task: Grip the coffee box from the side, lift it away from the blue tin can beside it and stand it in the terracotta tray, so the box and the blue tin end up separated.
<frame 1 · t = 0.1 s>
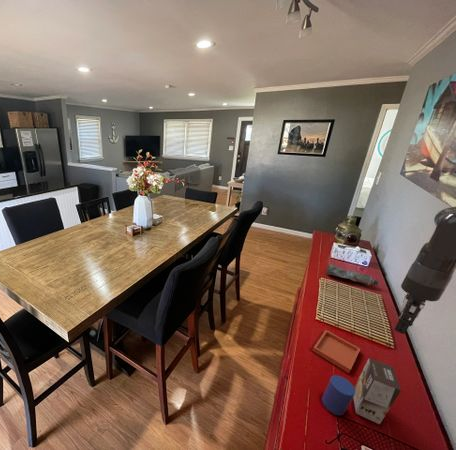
hand: (401, 324, 71), 32 cm above the sideboard, tool pointing down, fingers open, 8 cm apart
coffee box: (364, 406, 79), on the sideboard
blue tin: (333, 404, 79), on the sideboard
dark stone rod: (348, 280, 147), on the sideboard
tray: (335, 351, 99), on the sideboard
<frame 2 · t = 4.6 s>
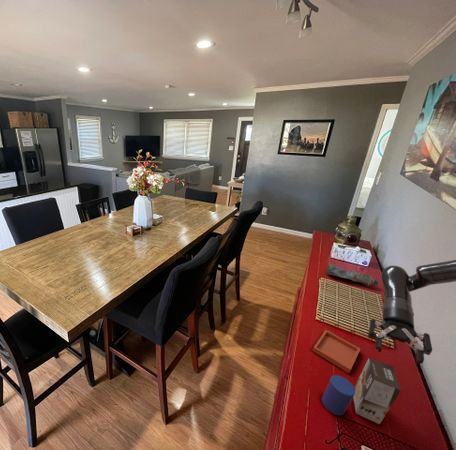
hand: (398, 356, 74), 20 cm above the sideboard, tool tilted 70°, fingers open, 8 cm apart
nothing on the sideboard moved.
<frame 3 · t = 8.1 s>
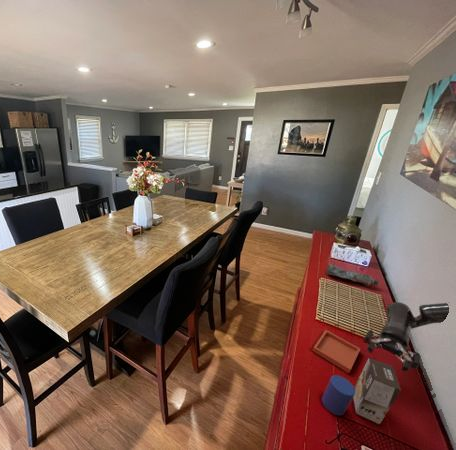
hand: (386, 359, 81), 13 cm above the sideboard, tool horizontal, fingers open, 8 cm apart
nothing on the sideboard moved.
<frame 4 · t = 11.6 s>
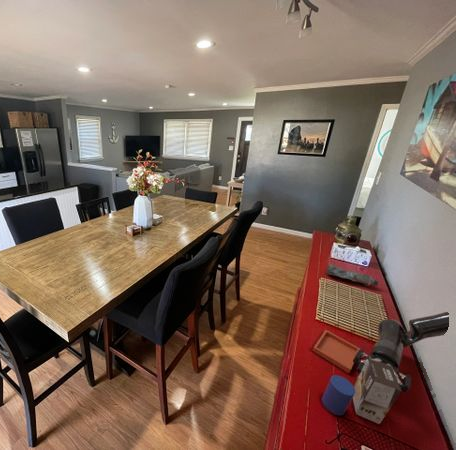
hand: (376, 382, 78), 9 cm above the sideboard, tool horizontal, fingers open, 8 cm apart
coffee box: (364, 406, 79), on the sideboard, touching gripper
everything else where it was.
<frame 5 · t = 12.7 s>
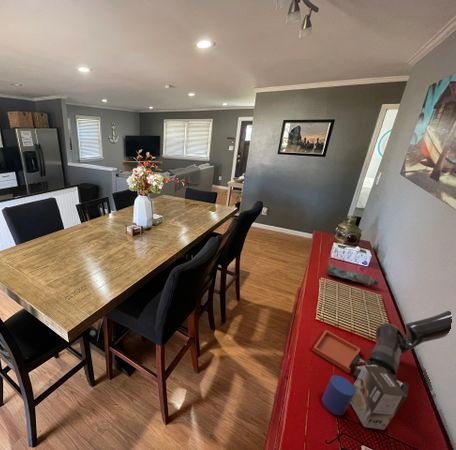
hand: (372, 389, 75), 9 cm above the sideboard, tool horizontal, fingers closed on coffee box, 8 cm apart
coffee box: (364, 412, 78), on the sideboard, touching gripper
everything else where it was.
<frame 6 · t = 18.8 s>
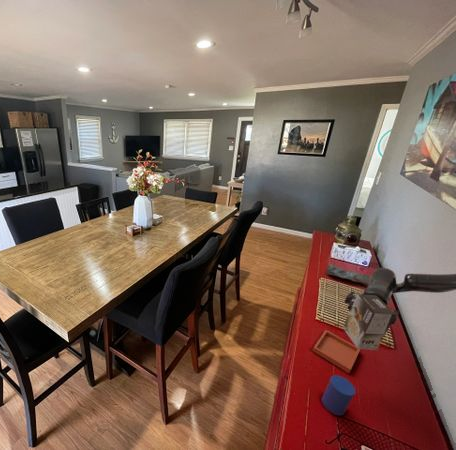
hand: (365, 316, 82), 26 cm above the sideboard, tool horizontal, fingers closed on coffee box, 8 cm apart
coffee box: (358, 338, 85), point 16 cm above the sideboard, touching gripper
everything else where it was.
when the fingers open (11 cm above the sideboard, at t = 24.7 s): coffee box stays where it is, resting on tray.
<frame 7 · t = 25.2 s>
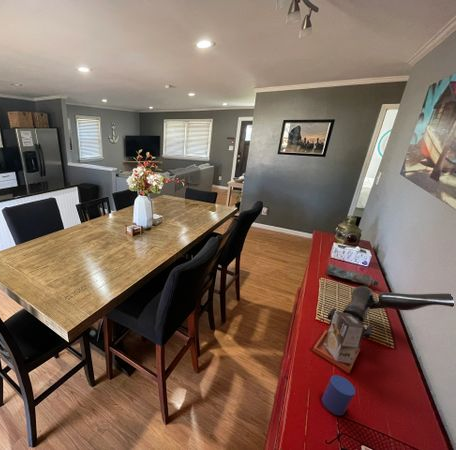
hand: (344, 331, 95), 11 cm above the sideboard, tool horizontal, fingers open, 8 cm apart
coffee box: (337, 353, 96), point 2 cm above the sideboard, touching gripper, tray
everything else where it was.
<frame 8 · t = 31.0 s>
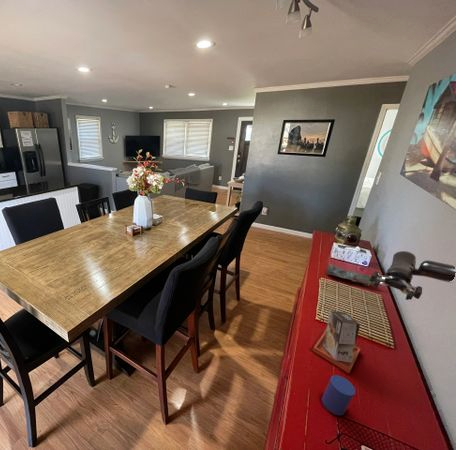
hand: (391, 291, 88), 30 cm above the sideboard, tool horizontal, fingers open, 8 cm apart
coffee box: (336, 354, 96), point 1 cm above the sideboard, touching tray
everything else where it was.
at the end: coffee box inside the target area in the tray (2.9 cm from its centre), point 1.4 cm above the tray's base; coffee box tilted 14°; blue tin moved 0.0 cm from its start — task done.
